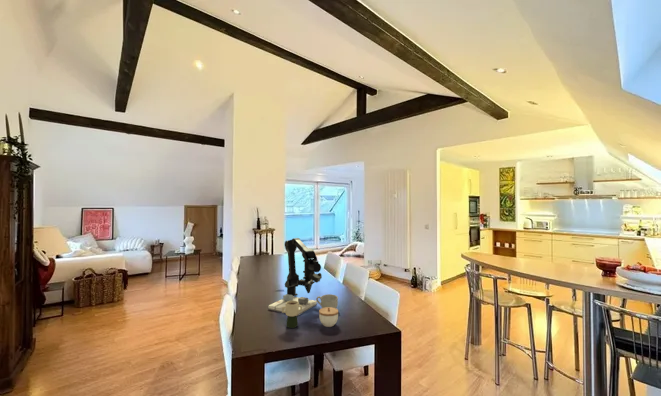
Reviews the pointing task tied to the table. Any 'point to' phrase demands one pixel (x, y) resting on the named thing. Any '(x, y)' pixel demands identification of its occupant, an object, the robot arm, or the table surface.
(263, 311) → the table surface
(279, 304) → the console
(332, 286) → the table surface
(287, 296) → the block
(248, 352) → the table surface
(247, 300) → the table surface
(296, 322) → the character mug
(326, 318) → the lidded jar
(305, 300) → the block
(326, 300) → the teacup
